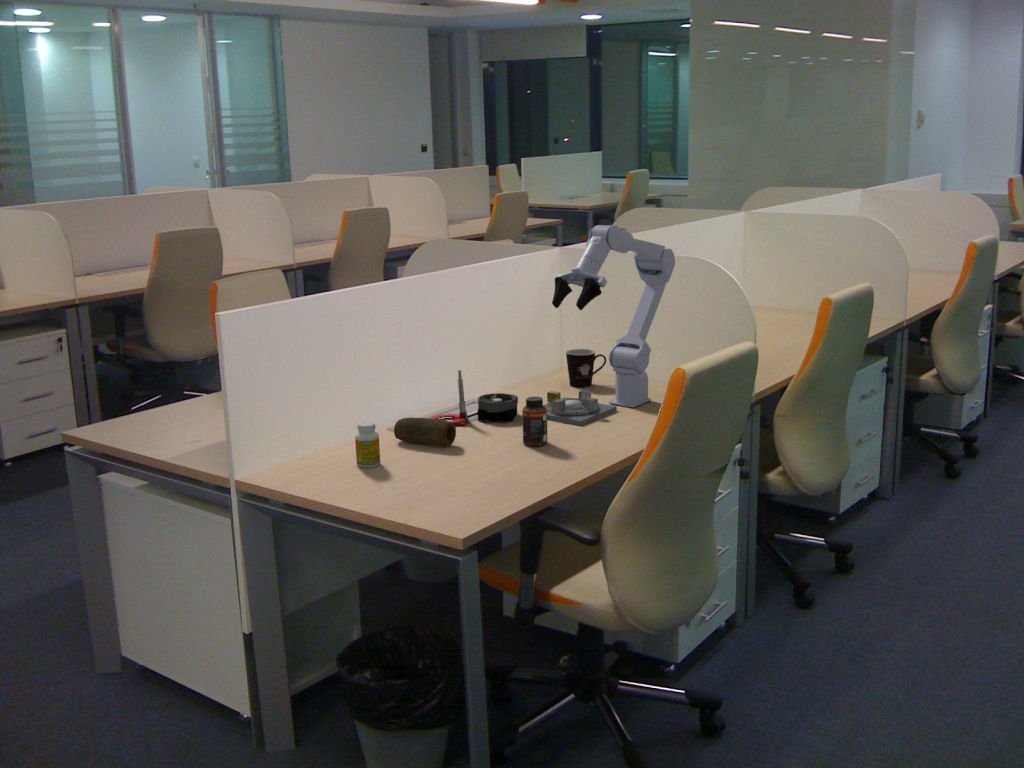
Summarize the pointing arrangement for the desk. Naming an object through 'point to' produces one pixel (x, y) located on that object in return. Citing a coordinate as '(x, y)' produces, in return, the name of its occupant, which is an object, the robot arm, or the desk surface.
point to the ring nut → (558, 404)
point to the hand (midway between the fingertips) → (566, 306)
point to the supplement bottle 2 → (534, 422)
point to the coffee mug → (581, 367)
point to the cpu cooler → (497, 407)
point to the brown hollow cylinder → (425, 431)
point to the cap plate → (580, 419)
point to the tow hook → (463, 413)
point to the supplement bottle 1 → (367, 445)
